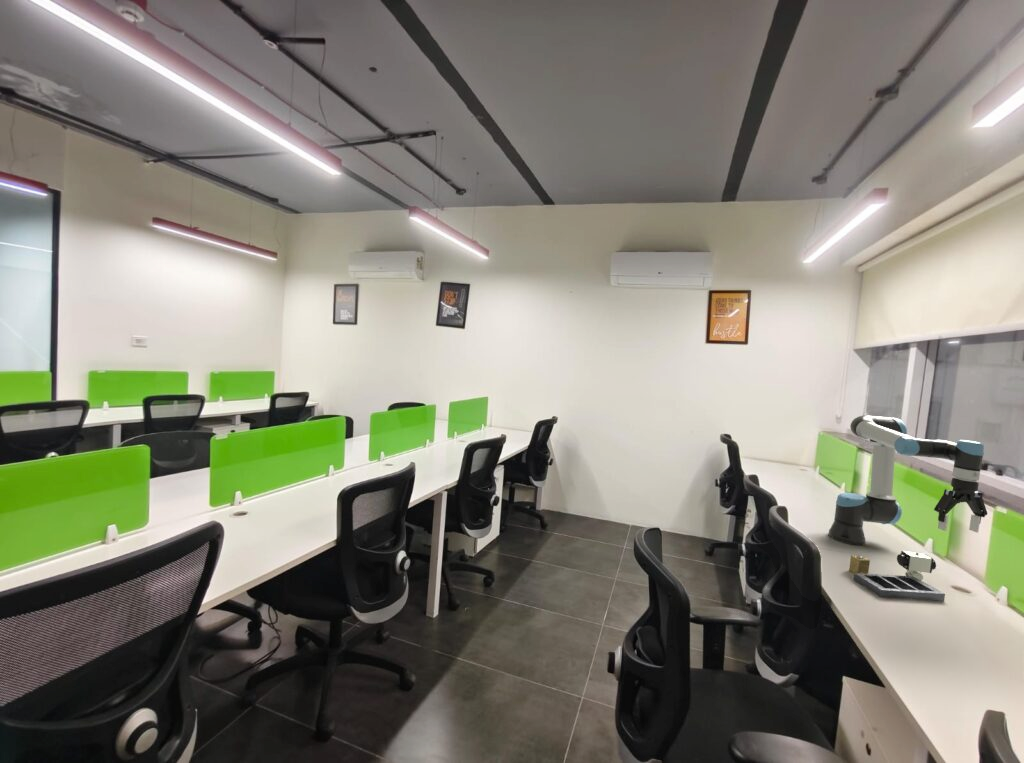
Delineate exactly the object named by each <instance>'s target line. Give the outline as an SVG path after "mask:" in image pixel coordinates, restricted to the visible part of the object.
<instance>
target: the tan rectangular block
mask: <svg viewBox="0 0 1024 763" xmlns="http://www.w3.org/2000/svg"><path fill="white" fill-rule="evenodd" d="M870 562H871V560H869V559H868V558H866V557H864V556H862V555H860V554H859V555H858V554H857V555H856V554H851V555H850V560H849V568H848V570H849V572H850V573H852V574H854V573H865V574H869V573H870V572H869V570H870Z"/></svg>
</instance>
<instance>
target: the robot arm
mask: <svg viewBox="0 0 1024 763" xmlns="http://www.w3.org/2000/svg"><path fill="white" fill-rule="evenodd" d="M849 427H850V431H851V432H852V434H854V435H855V436H856V437H858V438H861V439H865V440H869V443H870V444H872V446H873V447H872V458H871V459H872V460H871V461H872V462H871V476H870V477H871V478H870V488H869V489H870V491H868V492H867V493H865V495H862V494H859V493H853V492H843V493H839V494H838V495H837V497H836V502H835V511H834V519H833V523H832V524H831V527H830V528H829V529H828V534H827V535H828V536H829V537H830V538H832V539H834V540H835V541H839V542H841V543H844V544H848V545H852V546H853V545H855V546H864V545H866V537H865V533H864V527H863V526H864V522H866V523H868V522H869V523H875V524H876V523H877V524H881V525H895V524H896V523H898V522H899V521H900V520H901V517H902V515H903V514H902V513H903V511H902V508H901V505H900V503H899V502H897V499H896V497H895V496H894V495H893V490H894V487H893V486H894V476H895V475H894V474H895V458H896V457H895V456H896V453H898V454H900V455H902V456H903V455H904V456H907V457H924V458H932V459H933V458H934V459H945V460H948V461H952V462H954V464H953V469H952V475H951V476H952V478H951V482H950V486H951V487H952V489H951V490H950V489H948V488H945V489H944V490H943V493H942V495H941V497H940V499H939V501H938V502H937V504H936V505H935V506H934V509H933V510H934V511H936V513H938V516H937V518H938V519H937V521H938V522H937V523H938V525H937V529H940V530H942V531H944V532H947V529H948V528H947V527H948V523H949V522H948V521H949V514H948V513H949V512H950V511H951V510H952V509H953V508H954V507H956V505H957V504H960V503H966V504H967V505H968V507H969V509H970V511H971V512H972V513H973V514H971V516H970V522H969V527H968V529H969V531H972V532H973V533H976V534H977V533H979V530H980V529H979V528H980V524H981V521H982V518H985V517H986V516H987V515H988V512H987V508H986V505H985V502H984V499H983V492H982V491H981V492H980V491H978V490H979V481H980V475H981V469H982V465H983V464H982V463H983V457H984V444H983V443H981V442H979V441H974V440H967V439H959V440H957V441H956V442H953V441H949V440H947V439H926V438H925V439H924V438H918V437H917V438H916V437H913V436H911V435H909V434H908V430H907V426H906V424H905V423H904V422H903V420H901V419H899V418H897V417H891V416H879V415H878V416H877V415H876V416H875V415H867V414H866V415H860V416H857V417H855V418H854V419H853V420H852V421H851V422H850V425H849Z"/></svg>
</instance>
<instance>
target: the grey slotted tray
mask: <svg viewBox="0 0 1024 763" xmlns="http://www.w3.org/2000/svg"><path fill="white" fill-rule="evenodd" d="M853 581H855V582H856V583H858V584H860V585H861V586H862V587H864V588H865V589H867V590H868V591H870V592H872V593H873V594H874V595H876V596H877V595H878V597H879V598H881V597H882V598H883V599H898V600H899V599H900V600H901V599H902V600H916V601H932V602H945V597H946V594H945V593H944V592H942V591H940V590H938V589H937V588H935V587H933V586H932V585H929V584H928V583H926V582H924V581H923V580H919V579H917V578H915V577H913V576H906V575H896V574H895V575H893V574H879V573H878V574H877V573H868V574H865V573H853Z"/></svg>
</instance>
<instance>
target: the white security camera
mask: <svg viewBox="0 0 1024 763" xmlns="http://www.w3.org/2000/svg"><path fill="white" fill-rule="evenodd" d="M896 562H897V563H898V565H899V566H901V567H902V568H904V569H905V570H906V571H905V574H904V576H913V577H915V578H917V579H919V580H921V581H923V580H924V575H923V574H922V573H925V574H926V573H928V574H932V572H933V570H936V567H937V562H936V561H935V560H934V558H932V557H931V556H929V555H928V554H926V553H919V551H915V552H914V551H913V552H912V551H907V550H906V551H905V550H901V551H900V553H899V554H898V555H897V556H896Z"/></svg>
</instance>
